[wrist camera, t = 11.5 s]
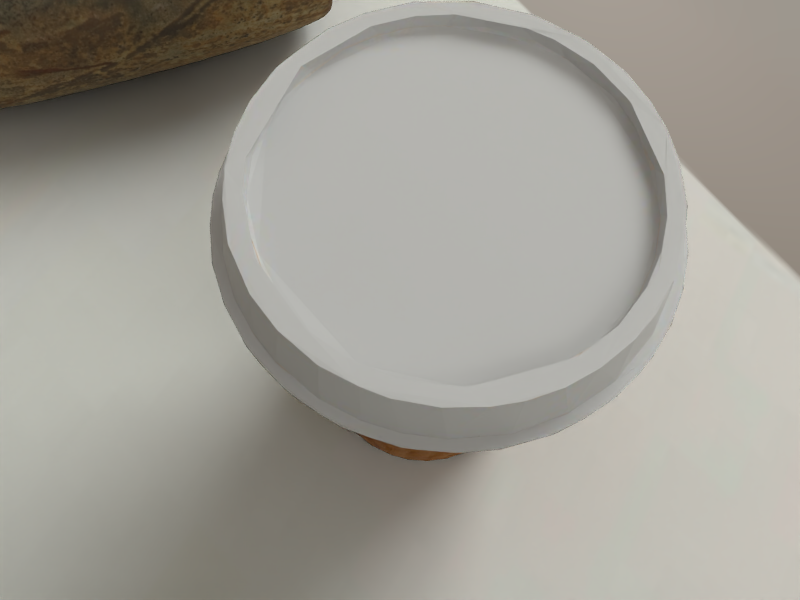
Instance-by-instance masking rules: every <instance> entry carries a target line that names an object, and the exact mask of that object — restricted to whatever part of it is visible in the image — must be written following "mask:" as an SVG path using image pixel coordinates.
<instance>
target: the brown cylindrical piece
mask: <svg viewBox="0 0 800 600" xmlns="http://www.w3.org/2000/svg"><path fill="white" fill-rule="evenodd" d="M331 6H332V0H0V109H1V108H6V107H11V106H18V105H23V104H30V103H34V102H38V101H42V100H47V99H52V98H56V97H60V96H65V95H69V94H73V93H77V92H81V91H86V90H90V89H94V88H98V87H101V86H105V85H109V84H113V83H118V82H122V81H126V80H131V79H134V78H137V77H141V76H144V75H148V74H152V73H155V72H159V71H163V70H168V69H172V68H175V67H179V66H182V65H186V64H189V63H193V62H197V61H200V60H203V59H206V58H210V57H213V56H216V55H220V54H223V53H228V52H231V51H234V50H237V49H240V48H243V47H247V46H250V45H253V44H257V43H260V42H263V41H266V40H269V39H271V38H274V37H277V36H279V35H282V34H285V33H288V32H290V31H293V30H295V29H298V28H301V27H303V26H305V25H308V24H310V23H312V22H314V21H316V20H319V19H320V18H322V17H324V16H325V15H326V14H327V13H328V12H329V11H330V9H331Z"/></svg>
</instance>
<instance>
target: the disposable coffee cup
mask: <svg viewBox="0 0 800 600" xmlns="http://www.w3.org/2000/svg"><path fill="white" fill-rule="evenodd" d="M687 209H688V205H687V200H686V194H685V188H684V182H683V177H682V171H681V165H680V160H679V157H678V155H677V152H676V150H675V147H674V145H673V142H672V140H671V138H670V135H669V132H668V130H667V128H666V126H665V124H664V123H663V121H662V119H661V118H660V116H659V114H658V113H657V111H656V109H655V108H654V106H653V105H652V103H651V101H650V100H649V99H648V98H647V97H646V95H645V94H644V93H643V92H642V91H641V89H640V88H639V87H638V86H637V85H636V84H635V82H634V81H633V80H632V79H631V78H630V76H629V75H628V74H627V73H626V72H625V71H624V70H623V69H622V68H620V67H619V66H618V65H617V64H615V63H614V62H613V61H612V60H610V59H609V58H608V57H606V56H605V55H604V54H603V53H601V52H600V51H599V50H598V49H596V48H595V47H594V46H593V45H591V44H590V43H589V42H588V41H586V40H585V39H583V38H581V37H579V36H576V35H575V34H573V33H570V32H568V31H566V30H564V29H562V28H560V27H558V26H556V25H554V24H552V23H550V22H548V21H546V20H544V19H542V18H540V17H537V16H535V15H532V14H528V13H523V12H519V11H514V10H510V9H506V8H501V7H497V6H492V5H488V4H484V3H479V2H475V1H462V2H410V3H406V4H402V5H397V6H393V7H389V8H384V9H380V10H375V11H371V12H367V13H364V14H362V15H359V16H357V17H354V18H352V19H350V20H347V21H345V22H343V23H340V24H338V25H336V26H333V27H331V28H329V29H327V30H326V31H324V32H323V33H322V34H320V35H319V36H317V37H316V38H314V39H313V40H312V41H310V42H309V43H307V44H306V45H304V46H303V47H301V48H300V49H299V50H297V51H296V52H295V53H294V54H292V55H291V56H290V57H288V58H287V59H286V60H285V61H283V62H282V63H281V64H279V65H278V66H277V67H276V68H275V70H274V71H273V72H272V73H271V75H270V76H269V77H268V78H267V80H266V81H265V82H264V83H263V85H262V86H261V87H260V88H259V90H258V91H257V92H256V93H255V95H254V96H253V97H252V98H251V100H250V102H249V104H248V106H247V108H246V110H245V112H244V114H243V116H242V118H241V120H240V122H239V124H238V126H237V128H236V130H235V132H234V134H233V137H232V141H231V144H230V148H229V151H228V153H227V155H226V157H225V160H224V162H223V164H222V166H221V168H220V171H219V175H218V179H217V182H216V186H215V190H214V193H213V200H212V210H211V219H210V235H211V253H212V265H213V268H214V271H215V275H216V278H217V282H218V285H219V288H220V292H221V295H222V299H223V302H224V305H225V307H226V309H227V311H228V313H229V315H230V316H231V318H232V320H233V322H234V324H235V326H236V328H237V330H238V332H239V333H240V335H241V337H242V339H243V341H244V343H245V345H246V347H247V348H248V349H249V350H250V352H251V353H252V354H253V355H254V357H255V358H256V359H257V361H258V362H259V363H260V364H261V365H262V366H263V367H264V368H265V369H266V370H267V371H268V372H269V374H270V375H271V376H272V377H273V378H274V379H275V380H276V381H277V382H278V383H279V384H280V385H281V386H282V387H283V388H284V389H286V390H287V391H288V392H289V393H290V394H292V395H293V396H294V397H295V398H296V399H298V400H299V401H300V402H302V403H303V404H305V405H306V406H308V407H310V408H311V409H313V410H314V411H316V412H317V413H319V414H320V415H322V416H323V417H325V418H327V419H328V420H330V421H332V422H333V423H335V424H337V425H338V426H340V427H342V428H345V429H347V430H350V431H353V432H356V433H357V434H358V435H359V436H361V437H362V438H363V439H365V440H366V441H367V442H368V443H370V444H371V445H372V446H374V447H376V448H378V449H380V450H382V451H384V452H387V453H389V454H391V455H394V456H398V457H401V458H405V459H410V460H424V461H430V460H437V459H445V458H449V457H452V456H455V455H458V454H461V453H464V452H477V451H488V450H500V449H504V448H507V447H511V446H514V445H518V444H522V443H525V442H529V441H532V440H536V439H540V438H543V437H547V436H550V435H553V434H555V433H557V432H559V431H561V430H563V429H565V428H567V427H569V426H571V425H573V424H575V423H577V422H579V421H581V420H583V419H585V418H586V417H587V416H589V415H590V414H592V413H593V412H595V411H596V410H598V409H599V408H601V407H602V406H604V405H605V404H607V403H608V402H610V401H611V400H612V399H614V398H615V397H616V396H617V395H618V394H619V393H620V392H621V391H622V390H623V389H624V388H625V387H626V386H627V385H628V384H629V383H630V382H631V381H632V380H633V379H634V378H635V377H636V376H637V375H638V374H640V372H641V371H642V370H643V368H644V367H645V366H646V365H647V363H648V362H649V361H650V359H651V358H652V357H653V355H654V354H655V352H656V350H657V349H658V347H659V345H660V344H661V342H662V340H663V338H664V337H665V335H666V333H667V332H668V330H669V328H670V326H671V324H672V321H673V318H674V315H675V312H676V309H677V306H678V303H679V300H680V297H681V294H682V291H683V288H684V281H685V273H686V265H687V258H688V243H687V230H686V220H687Z"/></svg>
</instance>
